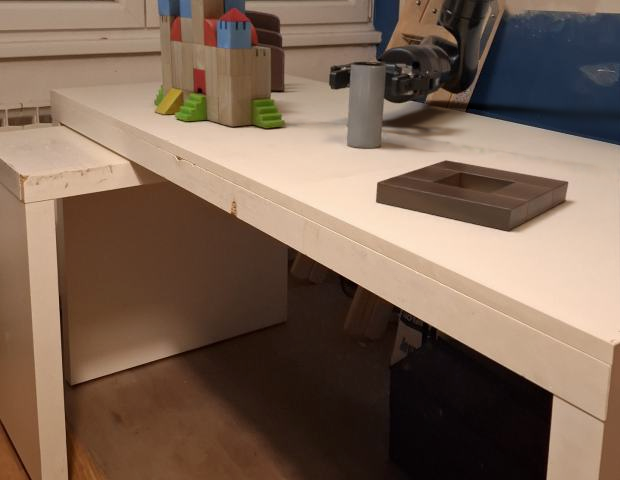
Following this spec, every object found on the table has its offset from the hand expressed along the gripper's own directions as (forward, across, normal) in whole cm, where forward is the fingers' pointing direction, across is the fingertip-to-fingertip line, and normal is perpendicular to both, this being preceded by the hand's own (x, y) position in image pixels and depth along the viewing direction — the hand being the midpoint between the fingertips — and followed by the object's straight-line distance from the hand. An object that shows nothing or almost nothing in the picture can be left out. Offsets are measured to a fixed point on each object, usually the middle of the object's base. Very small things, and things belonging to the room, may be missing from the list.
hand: (363, 83), depth 96 cm
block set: (-9, -29, +8) cm, 32 cm away
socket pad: (+18, +21, +8) cm, 29 cm away
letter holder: (-38, -45, +8) cm, 59 cm away
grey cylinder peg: (-2, 0, +8) cm, 8 cm away
